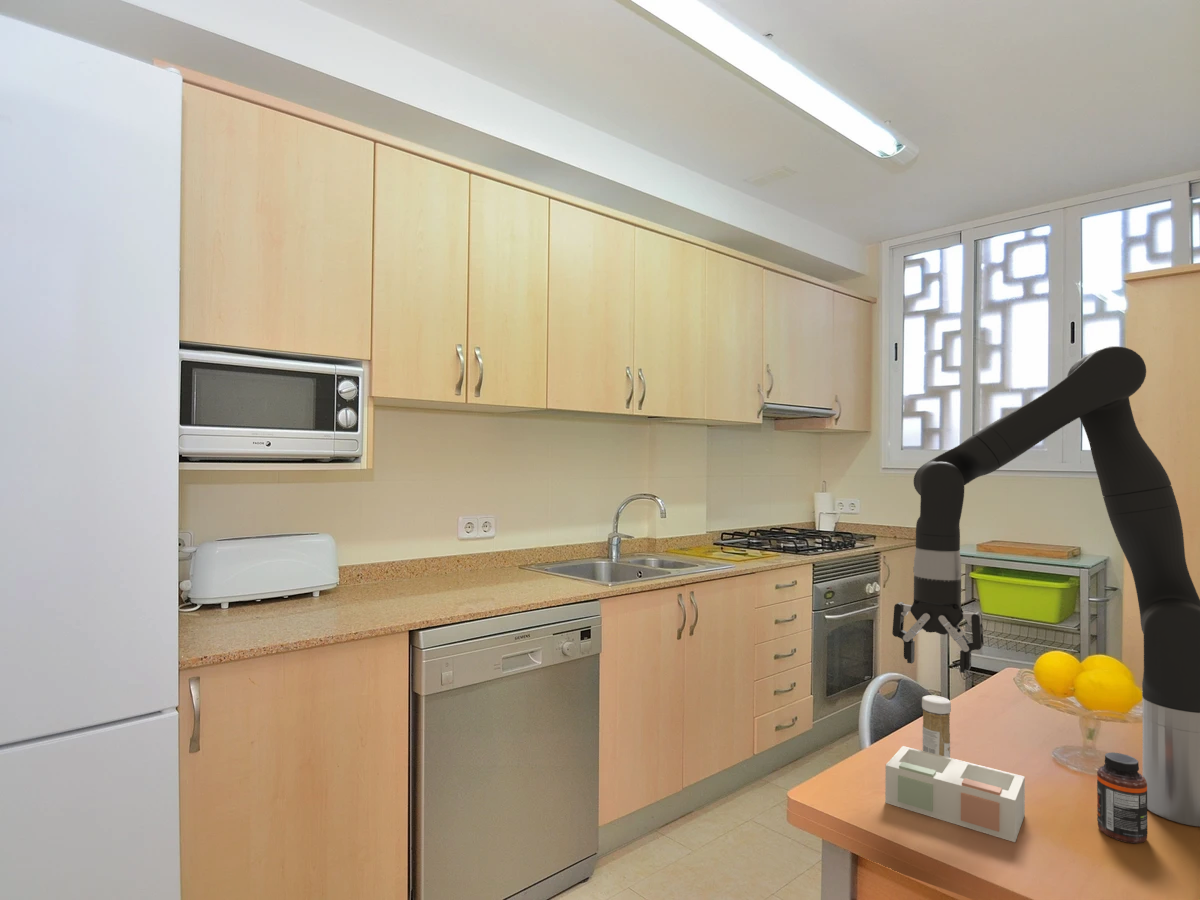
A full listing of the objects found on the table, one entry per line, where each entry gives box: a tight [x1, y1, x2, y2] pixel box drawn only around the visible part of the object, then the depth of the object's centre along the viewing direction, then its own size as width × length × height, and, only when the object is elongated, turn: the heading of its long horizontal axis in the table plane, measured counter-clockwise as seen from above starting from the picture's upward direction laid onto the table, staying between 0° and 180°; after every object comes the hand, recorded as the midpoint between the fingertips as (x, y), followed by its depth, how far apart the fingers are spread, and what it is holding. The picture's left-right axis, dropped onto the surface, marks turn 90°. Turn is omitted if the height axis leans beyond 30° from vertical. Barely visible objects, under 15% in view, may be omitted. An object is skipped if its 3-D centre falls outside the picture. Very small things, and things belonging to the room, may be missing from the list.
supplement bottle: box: [1096, 751, 1148, 844], centre depth 102 cm, size 6×6×11 cm
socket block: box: [884, 745, 1026, 843], centre depth 108 cm, size 18×10×6 cm, turn 52°
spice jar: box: [921, 694, 952, 758], centre depth 120 cm, size 5×5×14 cm
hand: (936, 667), depth 121 cm, fingers open, 8 cm apart
